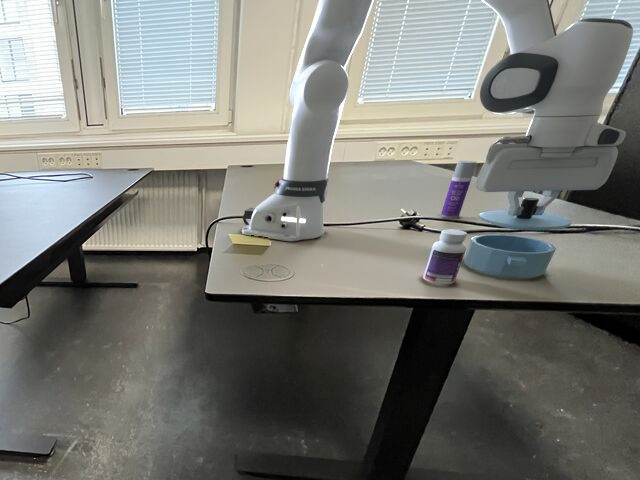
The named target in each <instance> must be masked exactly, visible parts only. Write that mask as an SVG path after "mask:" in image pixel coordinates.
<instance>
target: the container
mask: <svg viewBox="0 0 640 480" xmlns="http://www.w3.org/2000/svg"><path fill="white" fill-rule="evenodd" d="M476 165H477V161H474V160H458V161H457V163H456V166H455V168H454V172H453V175H452V178H451V180H450V184H449V187H448V190H447V193H446V197H445V200H444V203H443V206H442V209H441V212H440V217H441V218H444V219H445V218H446V219H457V218H459V217H460V214H461V211H462V209H463V206H464V202H465V199H466V196H467V193H468V191H469V188H470V185H471V182H472V179H473V175H474V173H475V169H476Z"/></svg>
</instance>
